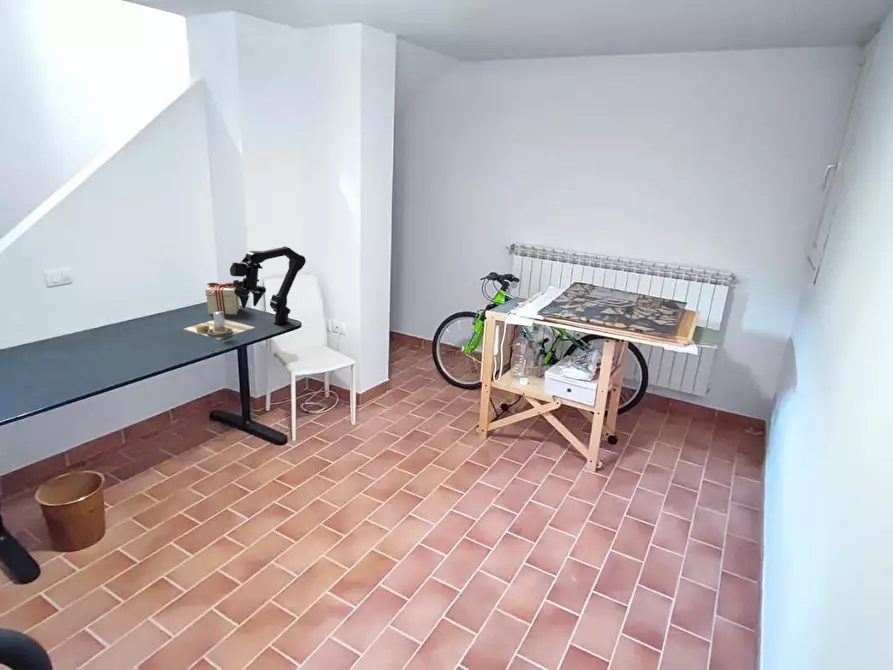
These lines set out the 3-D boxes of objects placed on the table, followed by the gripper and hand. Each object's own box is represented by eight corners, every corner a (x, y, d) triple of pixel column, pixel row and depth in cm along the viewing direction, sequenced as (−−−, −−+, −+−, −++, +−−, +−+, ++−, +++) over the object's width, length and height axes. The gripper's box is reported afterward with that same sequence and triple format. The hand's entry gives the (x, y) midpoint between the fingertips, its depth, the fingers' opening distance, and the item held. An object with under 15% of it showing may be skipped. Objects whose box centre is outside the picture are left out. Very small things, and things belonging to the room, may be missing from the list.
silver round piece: (216, 330, 280) (214, 309, 277) (231, 331, 280) (229, 311, 276) (209, 335, 273) (207, 314, 270) (224, 336, 273) (222, 315, 269)
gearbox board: (220, 319, 300) (220, 313, 299) (255, 329, 288) (254, 322, 287) (183, 330, 281) (182, 324, 279) (218, 341, 269) (218, 334, 268)
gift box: (206, 318, 301) (203, 287, 295) (211, 308, 318) (208, 279, 312) (240, 317, 305) (237, 287, 300) (243, 307, 322) (240, 278, 316)
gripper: (248, 272, 290) (246, 301, 293) (225, 275, 272) (223, 306, 275) (267, 276, 287) (265, 306, 291) (245, 279, 270) (243, 310, 273)
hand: (249, 307), depth 282 cm, fingers open, 9 cm apart
